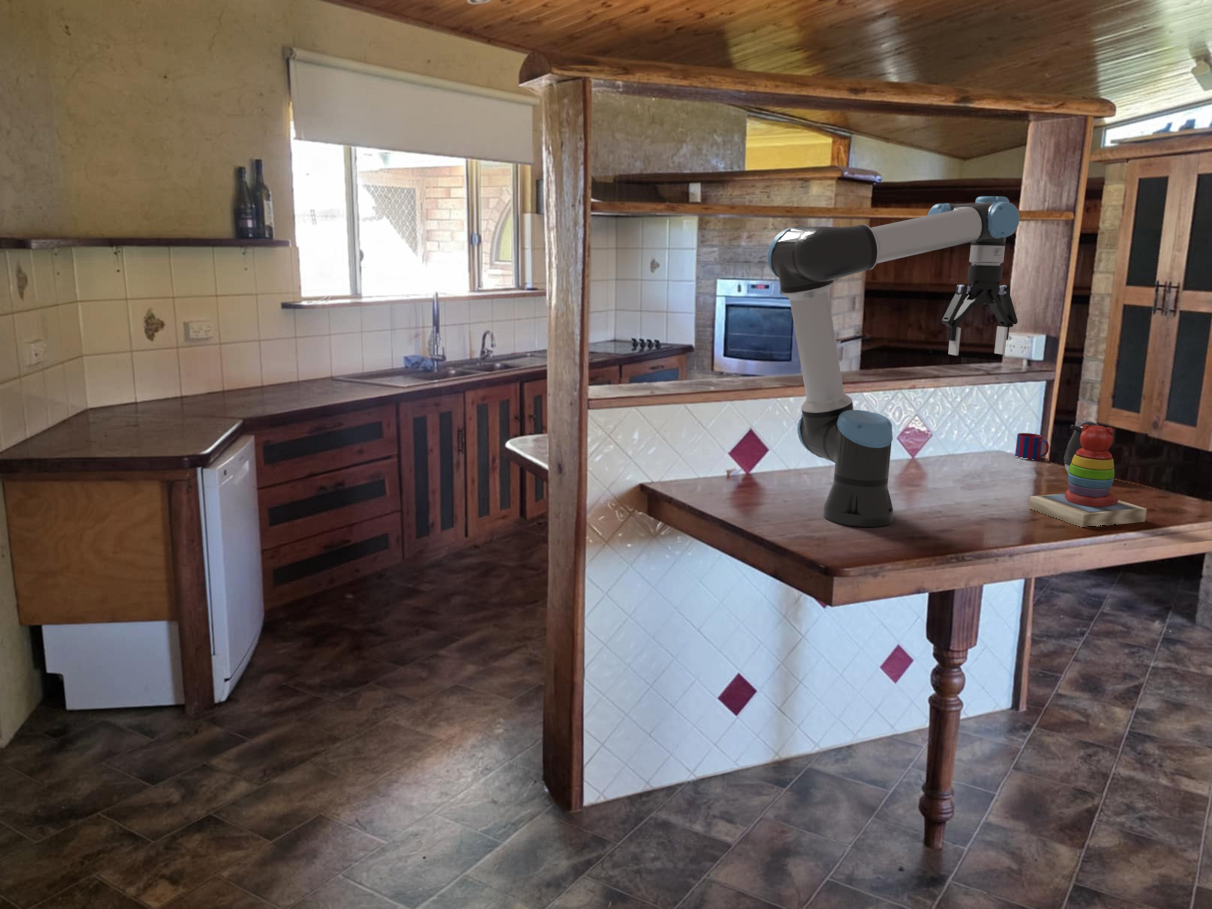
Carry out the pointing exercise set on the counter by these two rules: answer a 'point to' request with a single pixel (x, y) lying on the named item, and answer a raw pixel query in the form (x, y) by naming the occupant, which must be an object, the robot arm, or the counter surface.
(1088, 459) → the stacking bear
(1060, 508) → the plinth
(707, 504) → the counter surface
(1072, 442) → the pump dispenser
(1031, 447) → the mug
